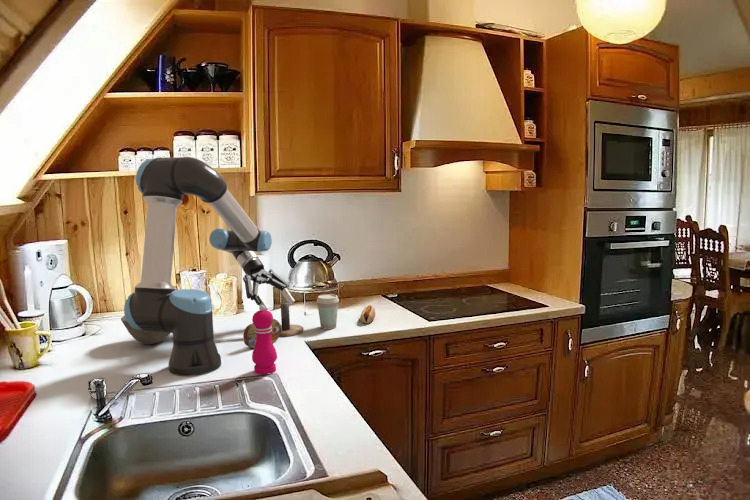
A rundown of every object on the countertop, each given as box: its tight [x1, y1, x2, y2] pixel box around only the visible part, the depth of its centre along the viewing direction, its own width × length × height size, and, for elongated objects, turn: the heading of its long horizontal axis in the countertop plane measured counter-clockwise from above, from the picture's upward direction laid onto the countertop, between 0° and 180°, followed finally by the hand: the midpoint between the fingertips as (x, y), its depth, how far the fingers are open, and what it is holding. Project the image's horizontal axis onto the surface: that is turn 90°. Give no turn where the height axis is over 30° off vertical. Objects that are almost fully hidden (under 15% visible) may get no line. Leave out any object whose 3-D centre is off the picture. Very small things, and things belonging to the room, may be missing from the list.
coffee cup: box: [316, 293, 340, 330], centre depth 202 cm, size 9×8×12 cm
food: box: [359, 305, 376, 324], centre depth 212 cm, size 14×6×5 cm, turn 174°
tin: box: [242, 318, 281, 349], centre depth 182 cm, size 15×3×8 cm, turn 143°
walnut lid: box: [279, 301, 305, 338], centre depth 197 cm, size 13×13×11 cm
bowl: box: [120, 315, 171, 345], centre depth 186 cm, size 19×19×10 cm
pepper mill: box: [251, 305, 278, 375], centre depth 156 cm, size 7×7×20 cm
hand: (279, 306), depth 199 cm, fingers open, 13 cm apart
